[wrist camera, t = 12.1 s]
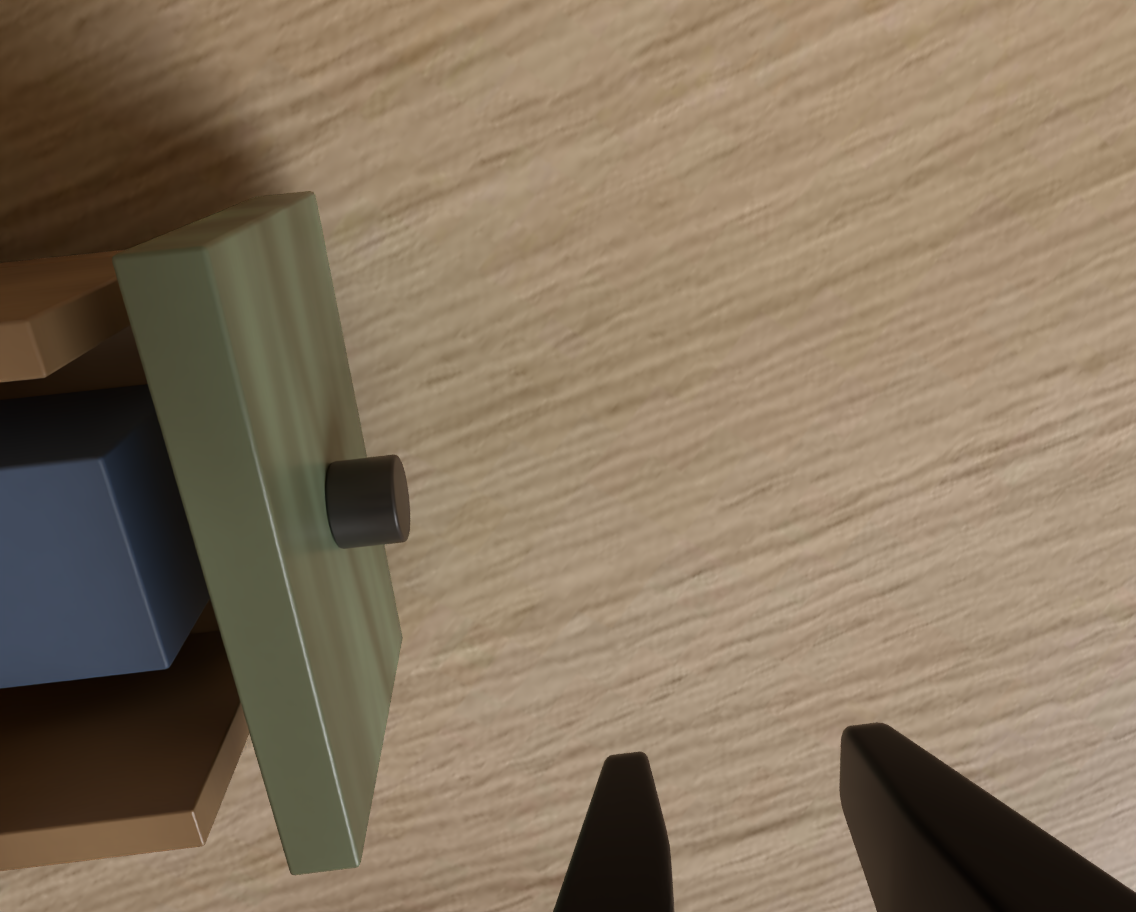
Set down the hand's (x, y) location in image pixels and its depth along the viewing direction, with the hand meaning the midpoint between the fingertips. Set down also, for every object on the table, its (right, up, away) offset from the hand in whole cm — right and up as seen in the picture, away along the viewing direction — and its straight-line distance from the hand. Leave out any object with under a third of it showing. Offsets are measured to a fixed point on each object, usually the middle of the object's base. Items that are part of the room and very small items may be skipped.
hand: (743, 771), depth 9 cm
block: (-11, +3, +9) cm, 14 cm away
